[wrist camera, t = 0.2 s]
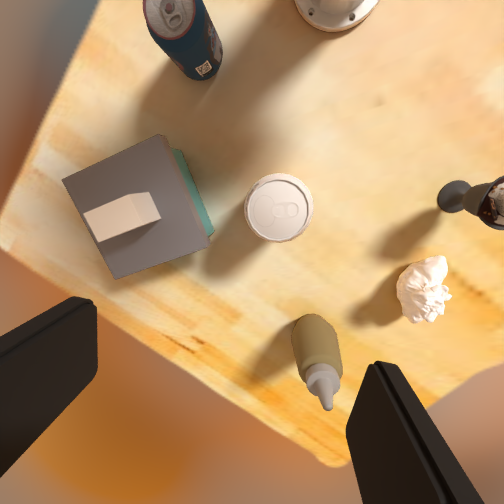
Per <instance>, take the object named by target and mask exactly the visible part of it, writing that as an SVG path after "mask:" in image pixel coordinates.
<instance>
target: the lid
mask: <svg viewBox="0 0 504 504" xmlns="http://www.w3.org/2000/svg"><path fill="white" fill-rule="evenodd" d="M62 182H63V184H64V185H65V187H66V189H67V191H68V193H69V195H70V197H71V199H72V200H73V202H74V204H75V206H76V208H77V210H78V212H79V213H80V215H81V217H82V219H83V221H84V223H85V225H86V226H87V228H88V230H89V232H90V234H91V236H92V238H93V240H94V241H95V243H96V245H97V247H98V249H99V251H100V253H101V254H102V256H103V258H104V260H105V262H106V264H107V266H108V267H109V269H110V271H111V273H112V275H113V277H114V279H115V280H116V279H119V278H121V277H124V276H127V275H130V274H133V273H136V272H139V271H141V270H144V269H147V268H150V267H153V266H156V265H158V264H161V263H164V262H167V261H170V260H173V259H176V258H178V257H181V256H184V255H187V254H190V253H193V252H196V251H198V250H201V249H204V248H207V247H208V246H209V245H210V244H211V243H210V240H209V238H208V235H207V233H206V231H205V228H204V226H203V224H202V221H201V219H200V217H199V214H198V212H197V209H196V207H195V205H194V202H193V200H192V198H191V195H190V193H189V191H188V188H187V186H186V184H185V181H184V179H183V176H182V174H181V172H180V169H179V167H178V165H177V162H176V160H175V158H174V155H173V153H172V150H171V148H170V146H169V143H168V141H167V139H166V137H165V136H162V135H160V134H158V135H155V136H153V137H151V138H149V139H147V140H145V141H143V142H141V143H138V144H136V145H134V146H132V147H130V148H128V149H126V150H123V151H121V152H119V153H117V154H115V155H113V156H111V157H109V158H106V159H104V160H102V161H100V162H98V163H96V164H94V165H92V166H89V167H87V168H85V169H83V170H81V171H79V172H77V173H74V174H72V175H70V176H68V177H66V178H64V179H62Z"/></svg>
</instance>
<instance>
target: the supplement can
mask: <svg viewBox="0 0 504 504" xmlns="http://www.w3.org/2000/svg"><path fill="white" fill-rule="evenodd" d="M244 211H245V218H246V221H247V223H248V225H249V227H250V229H251V230H252V231H253V232H254V233H255V234H256V235H257V236H258V237H260V238H262V239H264V240H266V241H268V242H277V243H282V242H286V241H291V240H293V239H294V238H296V237H298V236H299V235H301V234H302V233H303V232H304V231H305V229H306V228H307V227H308V226H309V224H310V221H311V218H312V215H313V199H312V196H311V194H310V191H309V189H308V188H307V187H306V186H305V185H304V183H303V182H302V181H301V180H300V179H298V178H296V177H294V176H292V175H290V174H282V173H275V174H271V175H267V176H264V177H263V178H261V179H260V180H258V181H257V182H256V183H254V184H253V186H252V187H251V189H250V190H249V192H248V193H247V196H246V200H245V204H244Z"/></svg>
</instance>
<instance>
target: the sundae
mask: <svg viewBox="0 0 504 504" xmlns="http://www.w3.org/2000/svg"><path fill="white" fill-rule="evenodd" d="M438 203H439V206H440V207H441V208H442V209H443V210H444V211H446V212H451V213H453V212H458V211H461V210H463V209H465V210H466V211H468V212H469V213H471V214H473V215H475V216H478V217H479V218H480V219H481V220H482V221H483V222H484V223H485V224H486V225H488V226H489V227H491V228H494V229H497V230H504V176H502V177H499V178H498V179H496V180H495V181H494V182H492V183H484V184H480V185H476V186H474V187H471V186H470V185H469V184H468V183H467V182H465V181H459V180H458V181H453V182H450V183H448V184H447V185H446V186H444V187H443V188H442V190H441V191H440V193H439V197H438Z"/></svg>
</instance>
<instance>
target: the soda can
mask: <svg viewBox="0 0 504 504" xmlns="http://www.w3.org/2000/svg"><path fill="white" fill-rule="evenodd" d="M143 12H144V16H145V19H146V23H147V27H148V30H149V32H150V34H151V36H152V38H153V39H154V41H155V42H156V43H157V44H158V45H159V46H160V48H161V49H162V50H163V51H164V52H165V53H166V54H167V55H168V56H169V57H170V58H171V59H172V61H173V62H174V63H175V64H176V65H177V66H178V67H179V68H180V69H181V70H182V71H183V72H184V74H185V75H187V76H188V77H189V78H191V79H194V80H206V79H209V78H210V77H212V76H213V75H214V74H215V73H216V72H217V70H218V69H219V67H220V65H221V61H222V55H223V51H222V45H221V41H220V39H219V37H218V34H217V32H216V30H215V28H214V25H213V23H212V21H211V19H210V17H209V14H208V12H207V10H206V8H205V5H204V3H203V1H202V0H143Z"/></svg>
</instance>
